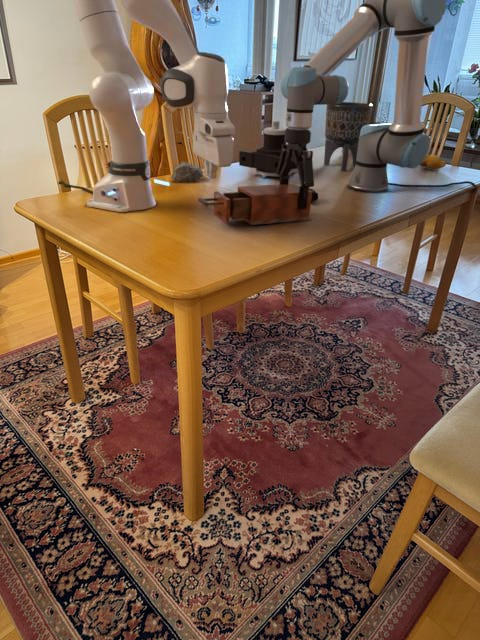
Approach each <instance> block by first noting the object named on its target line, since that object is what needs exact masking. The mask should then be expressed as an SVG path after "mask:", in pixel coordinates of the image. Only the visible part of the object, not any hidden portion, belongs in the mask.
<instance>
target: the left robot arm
mask: <svg viewBox="0 0 480 640" xmlns="http://www.w3.org/2000/svg"><path fill="white" fill-rule="evenodd" d="M73 1H74V6H75V10H76V14H77V18H78V20H79V23H80V24H79V25H80V26H81V30H82V33H83V36H84V38H85V41H86V44H87V48H88V51H89V52H90V54H91V56H92V57H93V58H94V59H95V60H96V61H97V63H99V65H100V66H101V68H102V70H103V71H104V73H102V74H100V75H98V76H97V77H95V78H93V80H92V81H91V83H90V85H89V89H88V97H89V100H90V102H91V104H92V106H93V107H94V108H95V110H97V112H99V114H100V116H101V118H102V120H103V122H104V125H105V128H106V131H107V135H108V139H109V147H110V153H111V160H110V161H108V162H107V163H105V164H104V166H105V169H108V173H106V174H105V175H104V176H103V177H102V178H101V179H99V180H98V181H97V182H96V183H95V184H94V187H93V191H92V190H91V189H89V188H87V187H84V186H81V185H80V186H79V185H73V184H69V183H66V182H65V181H64V180H62V179H60V180H61V182H60V180H59V181H58V184H62V185H64V187H68V188H71V189H72V188H73V189H78V190H83V191H86V192H88V193H90V194H92V197H91V198H90V199H88V200H87V201H86V206H87V207H90V208H96V209H101V210H107V211H111V212H117V213H128V212H132V211H134V212H135V211H141V210H142V211H143V210H146V209H150V208H153V207H155V206H156V205H157V202H156V199H155V196H154V192H153V188H152V184H151V167H150V166H151V165H150V160H149V159H148V148H147V136H146V133H145V131H144V130H143V129H142V127H141V126H140V123H139V121H138V117H137V112H139V111H142V110H144V109H145V108H147V107H148V106H149V105H150V104H151V103H152V101H153V99H154V95H155V92H154V90H155V89H154V86H153V83H152V82H151V80H150V79H149V78H148V77H147V76H146V75H145V73H144V71H143V70H142V68H141V66H140V65H139V63H138V61H137V58H136V57H135V55H134V53H133V50H132V49H131V47H130V44H129V42H128V41H129V40H128V39H127V35H126V33H125V29H124V25H123V22H122V20H121V16H120V12H119V9H118V7H117V4H116V1H115V0H73ZM119 2H120V3H121V5H122V7H123V8H124V10H125V12H126V13H127V15H128V16H129V17H130V19H131V20H133V21H134V22H135V23H137V24H139V25H141V26H143V27H145V28H146V29H148V30H151V31H152V32H154V33H155V34H157V35H158V36H160V37H161V38H162V39H164V40H165V41H166V43H167V44H168V45H169V47H170V48H171V50H172V53H173V55H174V56H175V58H176V60H177V62H178V64H179V65H177V66H174V67H172V68H168V69H167V70H165V72H163V74H162V77H161V80H160V92H161V96H162V98H163V100H164V101H165V103H166V104H167V105H169V107H171V108H175V109H191V108H193V116H194V117H193V121H194V122H193V123H194V129H193V132H192V152H193V154H194V155H195V156H197V157H199V158H201V159H203V160H204V167H205V169H206V177H209V178H210V179H216V178H217V175H218V174H217V173H218V169H219V168H228V167H231V165H232V164H233V161H234V159H233V158H234V138H233V136H235V133H236V128H235V125H234V124H233V122H231V120H230V118H229V109H228V105H227V102H228V101H227V100H228V96H229V75H228V68H227V67H228V66H227V63H226V60H225V59H224V57H222V56H221V55H218V54H215V53H212V52H211V53H210V52H204V51H199V48H198V46H197V45H196V42H195V40H194V39H193V37H192V35H191V33H190V31H189V29H188V27H187V26H186V23H185V21H184V20H183V18H182V17H181V15H180V13H179V11H178V10H177V9H176V7H175V6H174V4H173V2H172V0H119ZM153 181H154V183H155V184H158V185H159V184H160V185H163V186H168V187H170V182H169V181H163V180H159V179H155V178H154V179H153Z"/></svg>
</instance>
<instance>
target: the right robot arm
mask: <svg viewBox="0 0 480 640" xmlns="http://www.w3.org/2000/svg"><path fill="white" fill-rule="evenodd" d="M446 7H447V0H364V1H363V2H362V3H361V4H360V5H359V6H358V8H356V9H355V11H354V13H353V17H352V18H351V19H350V20H349V21H348V22H347V23H346V24H345V25H343V27H342V28H341V29H340V30H339V31H338V32H337V33H336V34H334V35H333V36H332V37H331V38H330V40H328V41H327V42H326V43H325V45H324V46H322V47H321V48H320V49H319V51H317V52H316V53H315V54H314V55H313V56H312V57H310V59H309V60H308V61H307V62H306V63H305V64H304V65H303V66H294V67H292V68H290V69H289V73H287V74H285V75H284V76H283V78H282V80H281V83H280V92H281V95H282V96H283V98H285V99H287V100H286V116H285V126H286V127H287V128H285V129H286V130H285V142H286V144H282V149H281V155H280V159H279V164H278V168H277V172H276V173H277V175H279V176H278V177H279V185H284V184H290V175H288V174H289V172H290V170H291V168H292V165H293V163H294V162H295V165H296V166H297V168H298V171H297V173H298V177H299V181H300V185H299V186H300V187H299V198H298V209H306V208H307V198H308V192H309V189H310V188H312V187H314V186H315V179H314V177H315V175H314V165H313V164H314V163H313V157H314V152H313V150H308V148H307V146H308V144H310V143H311V139H312V130H311V128H313V120H314V109H315V108H314V107H315V106H324V105H325V106H327V105H330V104H331V105H334V104H340V103H342V102H345V101H346V99H347V98H348V95H349V89H350V87H349V82H348V79H347V78H346V77H345V76H343V75H337V74H332V73H334V71H336V69H338V67H340V66H341V65H342V64H343V63H344V62H345V61H346V60H347V59H348V58H349V57H350V56H351V55H352V54H353V53H354V52H355V51H357V49H358V48H359V47H360V46H362V44H363V43H364V42H365V41H366V40H367V39H368V38H373V37H375V36H376V35H377V34H378V33H379V32H381V31H383V30H386V29H392V28H393V29H394V31H393V32H394V33H393V36H394V38H395V39H396V40H397V41H398V51H397V63H396V64H397V66H396V78H395V79H396V81H395V95H394V96H395V98H394V111H393V113H394V114H393V122H392V123H379V124H376V123H375V124H369V125H365V126H363V127H362V128H361V131H360V136H359V142H358V150H357V158H356V165H355V166H354V167H353V171H351V174H350V176H349V179H348V182H347V187H348V188H349V189H351V190H354V191H358V192H363V193H364V192H365V193H382V192H386V191H388V189H389V186H393V187H402V188H446V187H451V186H455V185H464V184H470V185H471V186H473V187H476V186H477V185H476V184H475V183H474V182H473V181H468V180H467V181H466V180H465V181H457V182H449V183H446V184H401V183H396V182H395V183H394V182H389V178H388V173H387V172H388V171H387V166H388V165H392V166H396V167H399V168H402V169H403V168H404V169H414V168H417V167H418V166H420V165H419V164H420V163H421V162H422V161H423V160H424V158H425V157H426V156H428V153H429V151H430V148H431V138H430V136H429V135H428V134H427V133H425V124H424V123H423V122H422V120H421V118H422V107H423V97H424V95H423V94H424V85H425V77H426V67H427V66H426V65H427V54H428V46H429V39H430V37H431V36H432V35H433V34H434V33H435V29H436V28H435V27H436V26H437V25H438V24H439V23H440V22H441V20H442V19H443V16H444V15H445V13H446V9H447V8H446ZM280 170H281V171H280Z"/></svg>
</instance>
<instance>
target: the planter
mask: <svg viewBox="0 0 480 640" xmlns="http://www.w3.org/2000/svg"><path fill="white" fill-rule="evenodd" d="M373 107H374V106H373V104H372V103H367V102H353V101H343V102H342V103H340V104H334V105H331V104H330V105H326V109H325V124H324V125H325V126H324V139H325V144H324V156H323V157H324V158H323V165H325V166H328V165H330V163H331V158H332V156H333V154H334V153H335V151H336V150H337V149H340V148H341V152H342V153H341V166H340V170H341V172H345V171H347V167H348V166H347V165H348V159H349V153H348V152H349V150H350V151H351V153H352V154H351V157H352V158H351V159H352V160H351V161H352V166H353V167H355V165H356V158H357V150H358V142H359V136H360V131H361V128H362V127H363V126H365V125H370V121H371V116H372V112H373Z"/></svg>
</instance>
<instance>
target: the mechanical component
mask: <svg viewBox="0 0 480 640" xmlns="http://www.w3.org/2000/svg"><path fill="white" fill-rule="evenodd" d="M286 129H287V128H286V127H280V121H279V120H272V126H271V127H265V128H264V129H263V145H262V146H258V147H257V148H256V151H250V150H245V149H241V150H239V153H238V154H239V155H238V157H239V159H238V166H240V167H245V168H250V169H255V173H256V174H257V175H261V177H262V178H267V177H279V175H277V173H276V172H277V168H278V164H279V159H280V155H281V149H282V144H287V142H285V130H286ZM280 171H281V170H280ZM292 173H298V168H297V166H296V165H295V162H294V163H293V165H292V168H291V170H290V172H289V174H288V175H289V176H291V175H292Z"/></svg>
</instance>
